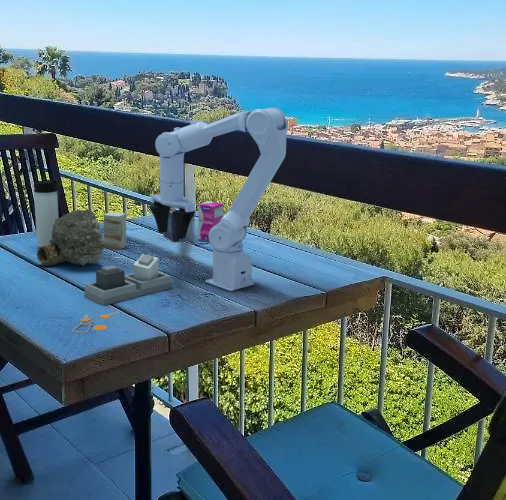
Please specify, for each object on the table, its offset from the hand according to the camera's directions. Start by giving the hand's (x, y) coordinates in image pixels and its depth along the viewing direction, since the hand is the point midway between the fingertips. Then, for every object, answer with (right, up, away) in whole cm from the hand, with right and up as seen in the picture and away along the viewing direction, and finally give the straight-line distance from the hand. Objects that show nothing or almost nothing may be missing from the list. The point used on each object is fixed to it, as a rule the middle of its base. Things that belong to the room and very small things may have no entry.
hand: (172, 235), depth 169 cm
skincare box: (-20, -3, +27) cm, 34 cm away
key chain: (-12, -19, -29) cm, 37 cm away
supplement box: (+7, -1, +38) cm, 39 cm away
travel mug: (-38, -3, +25) cm, 45 cm away
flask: (-5, 0, +39) cm, 39 cm away
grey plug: (-5, -11, -8) cm, 14 cm away
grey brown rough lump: (-28, -8, +11) cm, 31 cm away
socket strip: (-9, -14, -11) cm, 19 cm away
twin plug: (-12, -13, -15) cm, 23 cm away
